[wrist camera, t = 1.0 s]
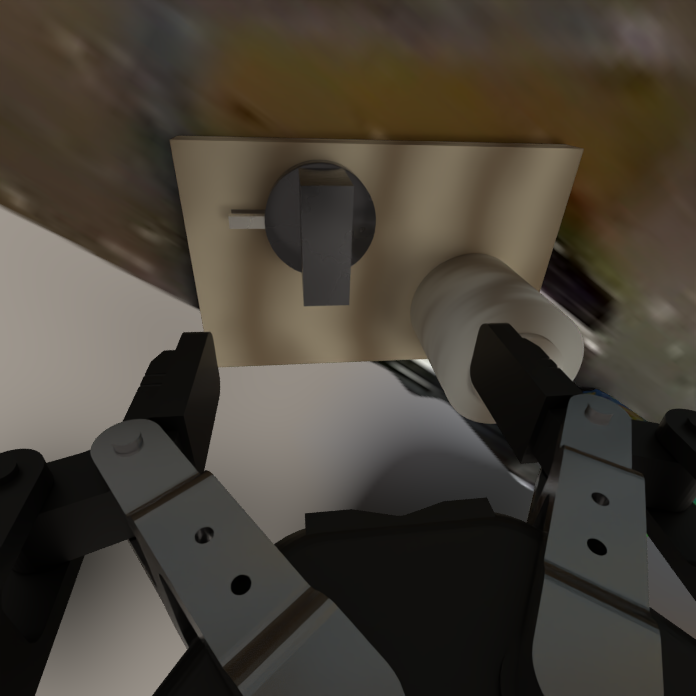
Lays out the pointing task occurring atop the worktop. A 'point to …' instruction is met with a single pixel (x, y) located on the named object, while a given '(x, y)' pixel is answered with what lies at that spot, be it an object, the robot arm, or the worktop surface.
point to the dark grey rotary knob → (317, 227)
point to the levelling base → (385, 254)
